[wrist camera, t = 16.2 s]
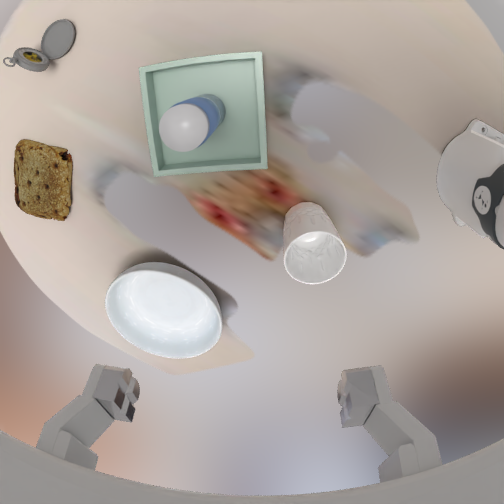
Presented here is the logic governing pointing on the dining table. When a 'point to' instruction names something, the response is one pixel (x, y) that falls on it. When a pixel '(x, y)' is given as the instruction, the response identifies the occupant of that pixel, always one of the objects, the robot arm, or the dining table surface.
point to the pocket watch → (46, 47)
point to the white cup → (311, 245)
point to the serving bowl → (164, 310)
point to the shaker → (191, 122)
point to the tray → (233, 126)
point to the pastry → (42, 179)
